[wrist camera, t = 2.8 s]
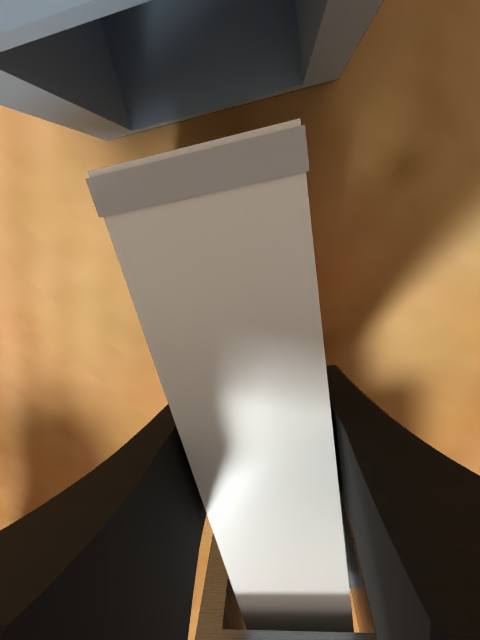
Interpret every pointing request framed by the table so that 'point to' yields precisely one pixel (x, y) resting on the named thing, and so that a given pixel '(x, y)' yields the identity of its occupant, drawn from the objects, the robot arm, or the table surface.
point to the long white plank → (241, 358)
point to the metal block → (232, 635)
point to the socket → (167, 56)
